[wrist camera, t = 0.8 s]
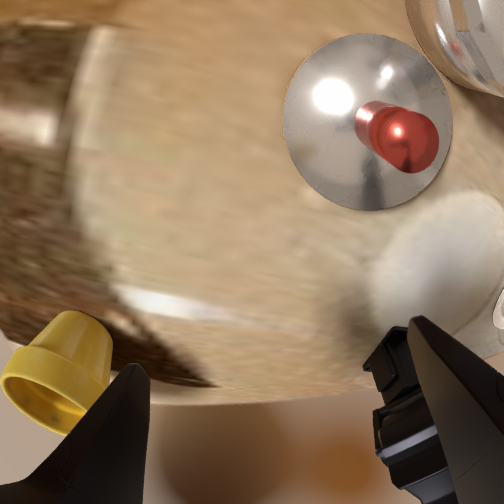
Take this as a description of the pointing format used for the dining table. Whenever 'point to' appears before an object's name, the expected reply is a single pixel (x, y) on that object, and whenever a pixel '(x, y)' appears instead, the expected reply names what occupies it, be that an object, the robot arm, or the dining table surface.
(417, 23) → the pot
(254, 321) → the dining table surface
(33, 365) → the plant pot
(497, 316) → the candle holder
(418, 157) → the lid
